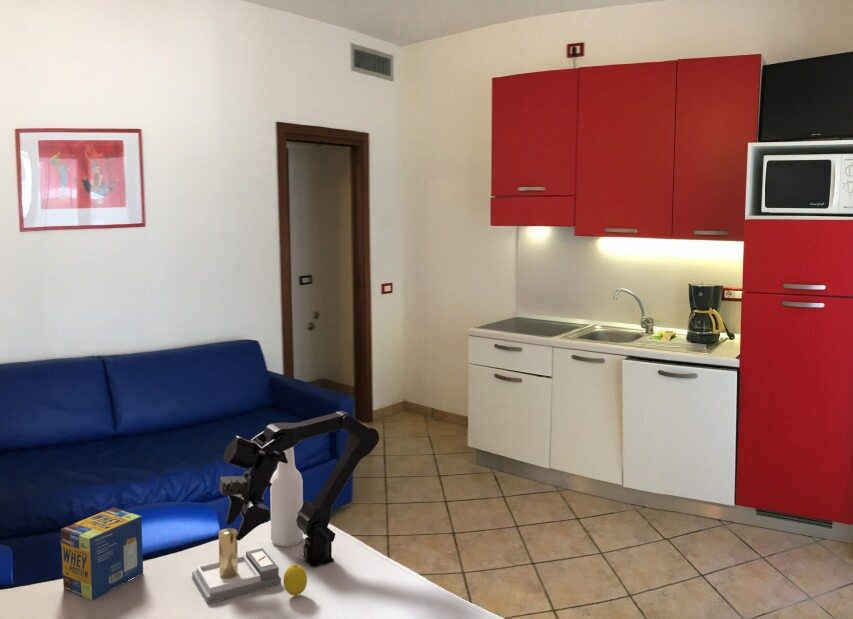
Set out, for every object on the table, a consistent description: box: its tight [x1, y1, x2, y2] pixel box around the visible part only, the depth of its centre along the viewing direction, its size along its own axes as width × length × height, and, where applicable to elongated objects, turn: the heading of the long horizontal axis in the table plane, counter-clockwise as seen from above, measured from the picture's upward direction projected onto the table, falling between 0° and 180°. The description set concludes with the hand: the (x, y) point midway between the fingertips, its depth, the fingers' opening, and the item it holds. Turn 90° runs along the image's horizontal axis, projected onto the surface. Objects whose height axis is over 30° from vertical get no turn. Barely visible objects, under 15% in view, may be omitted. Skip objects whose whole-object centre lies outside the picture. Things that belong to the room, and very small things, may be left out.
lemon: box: [283, 563, 308, 597], centre depth 172 cm, size 6×6×8 cm
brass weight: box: [218, 527, 239, 579], centre depth 177 cm, size 4×4×11 cm
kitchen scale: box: [191, 547, 282, 604], centre depth 179 cm, size 14×18×4 cm
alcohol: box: [269, 447, 304, 548], centre depth 200 cm, size 9×9×30 cm
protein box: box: [60, 507, 144, 601], centre depth 177 cm, size 10×15×16 cm
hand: (232, 532), depth 177 cm, fingers open, 9 cm apart
